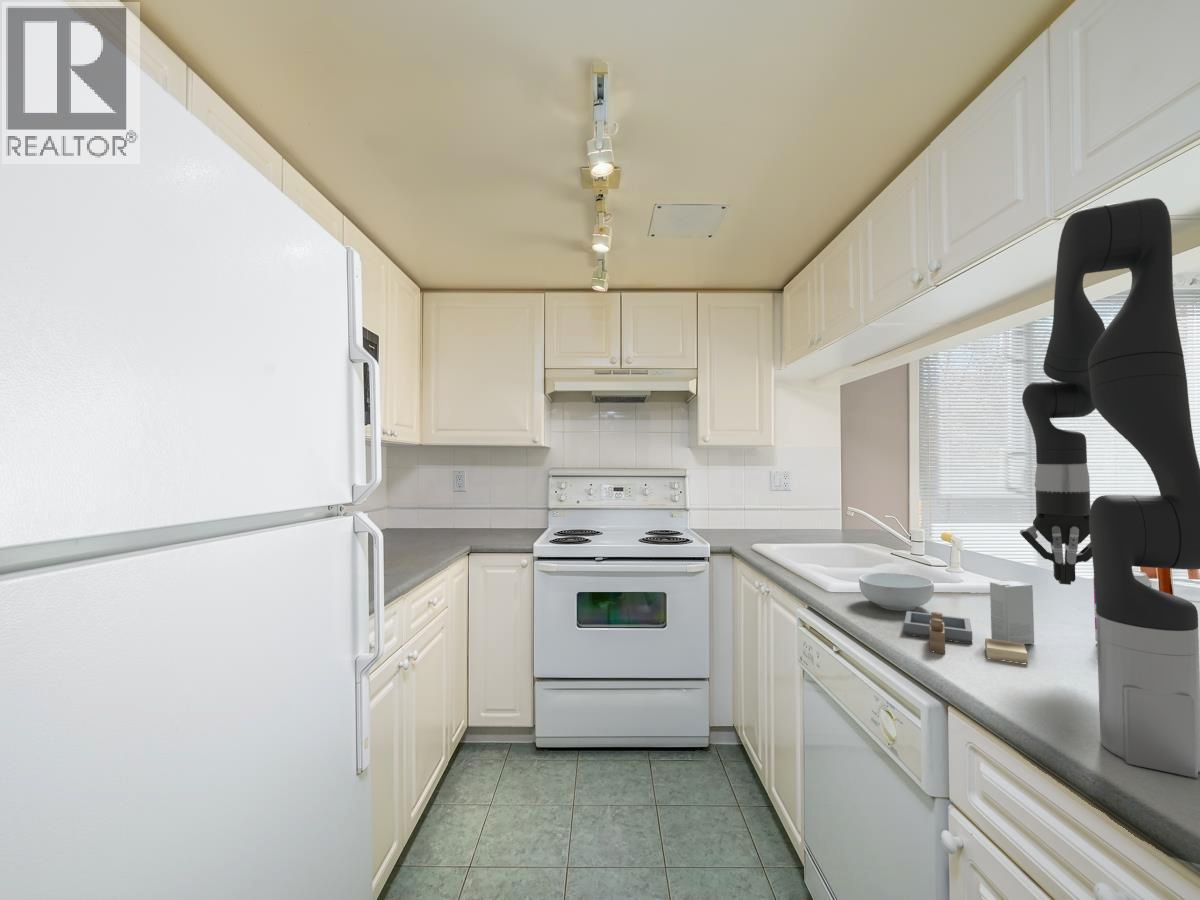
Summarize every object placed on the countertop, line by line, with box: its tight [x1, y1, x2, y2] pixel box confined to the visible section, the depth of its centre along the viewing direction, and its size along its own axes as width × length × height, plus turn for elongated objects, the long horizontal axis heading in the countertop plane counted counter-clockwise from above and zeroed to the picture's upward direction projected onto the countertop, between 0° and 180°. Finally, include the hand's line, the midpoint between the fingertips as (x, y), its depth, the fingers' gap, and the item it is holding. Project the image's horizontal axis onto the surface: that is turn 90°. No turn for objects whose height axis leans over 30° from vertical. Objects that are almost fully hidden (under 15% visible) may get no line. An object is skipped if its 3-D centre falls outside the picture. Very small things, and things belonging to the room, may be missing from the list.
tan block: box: [984, 637, 1029, 665], centre depth 102 cm, size 6×6×2 cm
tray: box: [904, 610, 973, 644], centre depth 117 cm, size 10×12×2 cm
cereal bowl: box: [858, 572, 935, 612], centre depth 137 cm, size 17×17×7 cm
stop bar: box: [929, 611, 946, 654], centre depth 108 cm, size 8×2×6 cm, turn 148°
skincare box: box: [989, 580, 1035, 645], centre depth 110 cm, size 6×4×12 cm
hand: (1064, 583), depth 98 cm, fingers closed
